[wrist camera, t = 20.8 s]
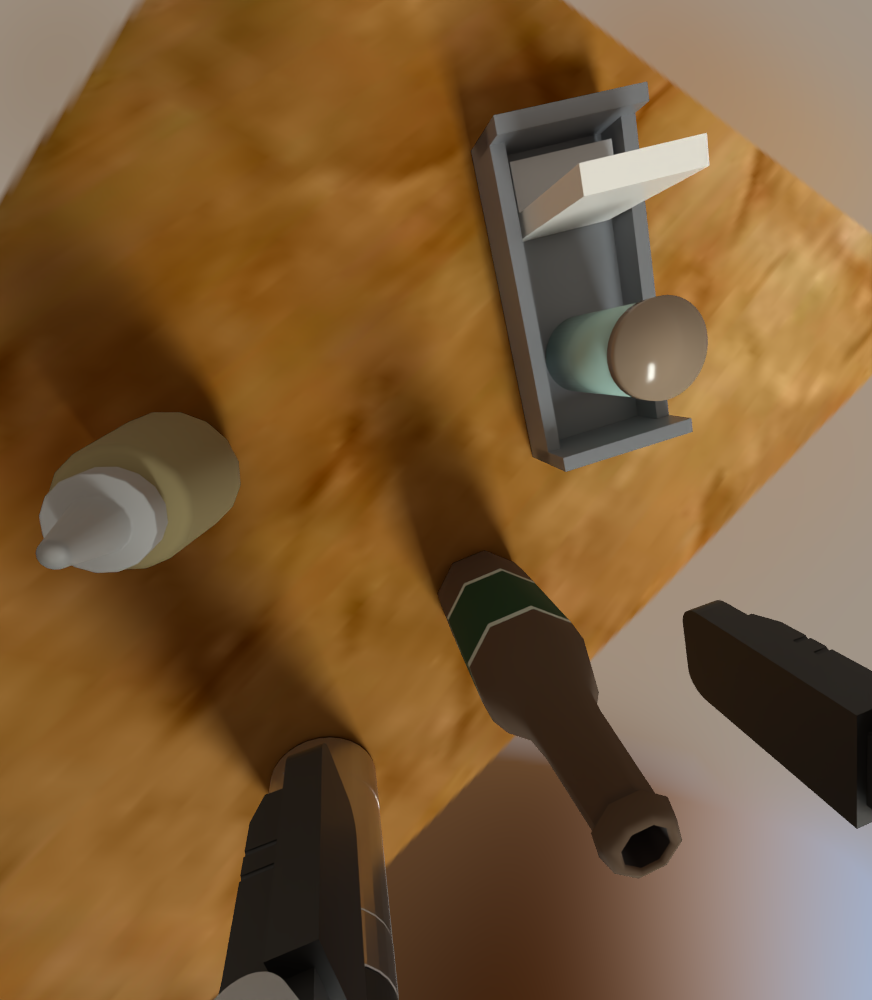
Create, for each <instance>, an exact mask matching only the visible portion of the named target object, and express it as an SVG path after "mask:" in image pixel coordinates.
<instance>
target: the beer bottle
mask: <svg viewBox="0 0 872 1000" xmlns="http://www.w3.org/2000/svg"><path fill="white" fill-rule="evenodd" d="M438 597H439V600H440V603H441V606H442V608H443V611H444V613H445V616H446V618H447V621H448V624H449V626H450V629H451V631H452V634H453V636H454V638H455V641H456V643H457V645H458V647H459V650H460V652H461V654H462V657H463V659H464V661H465V663H466V666H467V668H468V670H469V673H470V675H471V677H472V679H473V682H474V684H475V686H476V688H477V691H478V693H479V695H480V698H481V700H482V702H483V704H484V706H485V708H486V709H487V711H488V713H489V715H490V716H491V718H492V720H493V721H494V722H495V723H496V724H498V725H499V726H500V727H501V728H503V729H504V730H505V731H506V732H508V733H510V734H513V735H516V736H519V737H522V738H525V739H528V740H531V741H532V742H533V743H534V744H535V745H536V747H537V748H538V749H539V750H540V752H541V753H542V754H543V755H544V756H545V757H546V759H547V760H548V762H549V763H550V765H551V766H552V768H553V770H554V771H555V773H556V774H557V776H558V777H559V779H560V781H561V782H562V784H563V786H564V787H565V789H566V790H567V792H568V793H569V795H570V797H571V798H572V800H573V801H574V803H575V804H576V806H577V808H578V809H579V811H580V812H581V814H582V816H583V817H584V819H585V820H586V822H587V823H588V825H589V827H590V828H591V830H592V833H591V834H592V837H593V840H594V843H595V846H596V849H597V852H598V855H599V857H600V859H601V860H602V861H603V862H604V863H605V864H606V865H607V866H608V867H609V868H610V869H611V870H612V871H613V872H614V873H615V874H619V875H624V876H630V877H635V878H641V877H643V876H645V875H647V874H649V873H651V872H653V871H655V870H657V869H659V868H661V867H663V866H665V865H667V863H668V862H669V860H670V859H671V857H672V855H673V854H674V852H675V851H676V849H677V848H678V846H679V845H680V843H681V841H682V838H681V834H680V830H679V826H678V822H677V819H676V816H675V814H674V811H673V809H672V806H671V804H670V802H669V800H668V797H666V796H662V795H658V794H655V793H654V791H653V789H652V788H651V786H650V785H649V783H648V782H647V780H646V779H645V777H644V776H643V774H642V773H641V771H640V770H639V768H638V767H637V765H636V764H635V762H634V761H633V759H632V758H631V756H630V755H629V753H628V752H627V750H626V749H625V747H624V746H623V744H622V743H621V741H620V740H619V738H618V737H617V735H616V734H615V732H614V731H613V729H612V727H611V726H610V725H609V723H608V722H607V720H606V719H605V717H604V715H603V714H602V712H601V711H600V709H599V707H598V705H597V700H598V693H599V692H598V689H597V685H596V681H595V678H594V674H593V671H592V667H591V664H590V660H589V657H588V653H587V650H586V646H585V643H584V639H583V638H582V637H581V635H580V634H579V632H578V631H577V630H576V628H575V627H574V626H573V624H572V623H571V622H570V621H569V620H568V619H567V617H566V616H565V615H564V614H563V613H562V612H561V611H560V610H559V609H558V608H557V607H556V606H555V604H554V603H553V602H552V601H551V600H550V599H549V598H548V597H547V596H546V595H545V594H544V593H543V591H542V590H541V589H540V588H539V587H538V586H537V585H536V584H535V583H534V582H533V581H532V580H531V578H530V577H529V576H528V575H527V574H526V573H525V572H524V571H523V570H522V569H521V568H520V567H519V566H518V565H517V564H515V563H514V562H512V561H510V560H507V559H505V558H502V557H500V556H497V555H495V554H492V553H490V552H487V551H482V552H479V553H477V554H475V555H472V556H470V557H467V558H465V559H462V560H460V561H458V562H455V563H453V564H452V566H451V568H450V570H449V572H448V574H447V576H446V578H445V580H444V582H443V584H442V586H441V588H440V590H439V592H438Z"/></svg>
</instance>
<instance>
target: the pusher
mask: <svg viewBox="0 0 872 1000" xmlns="http://www.w3.org/2000/svg"><path fill="white" fill-rule="evenodd" d="M708 166H709V155H708V141H707V133H704V134H700V135H696V136H692V137H688V138H683V139H679V140H675V141H671V142H666V143H662V144H658V145H654V146H649V147H645V148H641V149H637V150H633V151H628V152H624V153H620V154H616V155H614V154H613V146H612V139H607V140H603V141H599V142H594V143H590V144H586V145H582V146H577V147H573V148H569V149H564V150H560V151H556V152H551V153H547V154H543V155H539V156H534V157H530V158H526V159H521V160H517V161H513V162H510V163H509V169H510V174H511V180H512V185H513V191H514V196H515V202H516V207H517V213H518V218H519V223H520V229H521V234H522V240H523V242H524V241H528V240H532V239H535V238H539V237H543V236H547V235H551V234H555V233H559V232H563V231H567V230H571V229H575V228H579V227H583V226H587V225H591V224H595V223H599V222H603V221H607V220H610V219H611V218H613V217H615V216H617V215H619V214H621V213H622V212H624V211H626V210H628V209H630V208H632V207H634V206H635V205H637V204H639V203H641V202H643V201H645V200H647V199H648V198H650V197H652V196H654V195H656V194H658V193H660V192H661V191H663V190H665V189H667V188H669V187H671V186H673V185H674V184H676V183H678V182H680V181H682V180H684V179H685V178H687V177H689V176H691V175H693V174H695V173H697V172H698V171H700V170H702V169H704V168H706V167H708Z"/></svg>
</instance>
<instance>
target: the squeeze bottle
mask: <svg viewBox="0 0 872 1000" xmlns="http://www.w3.org/2000/svg"><path fill="white" fill-rule="evenodd" d="M239 488H240V473H239V462H238V460H237V458H236V456H235V454H234V452H233V450H232V448H231V446H230V445H229V443H228V441H227V439H226V438H225V437H223V436H222V435H221V434H220V433H219V432H218V431H216V430H215V429H214V428H213V427H212V426H211V425H209V424H208V423H207V422H205V421H202V420H200V419H197V418H195V417H192V416H189V415H187V414H184V413H181V412H152V413H150V414H147V415H145V416H142V417H140V418H137V419H135V420H132V421H130V422H128V423H126V424H124V425H123V426H121V427H119V428H117V429H116V430H114V431H112V432H110V433H109V434H107V435H105V436H103V437H102V438H100V439H98V440H96V441H95V442H93V443H91V444H90V445H88V446H86V447H84V448H83V449H81V450H79V451H77V452H76V453H74V454H73V455H72V456H71V457H70V458H69V459H68V460H67V461H66V462H65V463H64V464H63V465H62V466H61V467H60V468H59V469H58V470H57V471H56V472H55V474H54V477H53V480H52V484H51V487H50V490H49V493H48V494H47V495H46V496H45V498H44V501H43V504H42V508H41V511H40V514H39V519H40V524H41V529H42V534H43V537H44V539H43V540H42V542H41V543H40V544H39V546H38V547H37V550H36V557H37V559H38V561H39V562H40V564H42V565H43V566H45V567H46V568H50V569H62V568H65V567H68V566H74V567H77V568H80V569H84V570H88V571H91V572H95V573H105V572H120V571H122V570H124V569H143V568H148V567H151V566H153V565H155V564H158V563H160V562H162V561H165V560H167V559H169V558H171V557H172V556H174V555H175V554H176V553H178V552H179V551H180V550H182V549H183V548H184V547H186V546H187V545H188V544H190V543H191V542H192V541H193V540H195V539H196V538H197V537H199V536H200V535H201V534H203V533H204V532H205V531H207V530H208V529H209V528H211V527H212V526H213V525H215V524H216V523H217V522H218V521H219V520H220V519H221V518H222V517H223V516H224V515H225V514H226V513H227V512H228V511H229V510H230V509H231V508H232V507H233V504H234V502H235V499H236V496H237V493H238V491H239Z"/></svg>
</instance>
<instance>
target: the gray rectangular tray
mask: <svg viewBox="0 0 872 1000" xmlns="http://www.w3.org/2000/svg"><path fill="white" fill-rule="evenodd" d="M648 101H649V94H648V85H647V82H643V83H639V84H634V85H630V86H625V87H620V88H616V89H611V90H607V91H602V92H598V93H593V94H589V95H584V96H579V97H575V98H570V99H566V100H561V101H557V102H552V103H548V104H543V105H539V106H534V107H529V108H525V109H520V110H516V111H511V112H507V113H502V114H498V115H493V117H492V119H491V120H490V122H489V123H488V125H487V127H486V128H485V130H484V131H483V133H482V134H481V136H480V138H479V139H478V141H477V142H476V144H475V146H474V147H473V149H472V150H471V153H472V158H473V163H474V168H475V173H476V178H477V183H478V188H479V193H480V198H481V203H482V208H483V213H484V218H485V222H486V227H487V232H488V237H489V242H490V247H491V252H492V257H493V262H494V267H495V272H496V277H497V282H498V287H499V292H500V297H501V302H502V307H503V311H504V316H505V321H506V326H507V331H508V336H509V341H510V346H511V351H512V356H513V361H514V366H515V371H516V376H517V381H518V386H519V391H520V395H521V400H522V405H523V410H524V415H525V420H526V425H527V430H528V435H529V440H530V445H531V450H532V455H533V457H534V458H536V459H539V460H541V461H543V462H545V463H548V464H550V465H552V466H554V467H556V468H559V469H561V470H563V471H565V472H566V471H569V470H573V469H576V468H579V467H582V466H585V465H589V464H592V463H595V462H598V461H601V460H604V459H608V458H611V457H614V456H617V455H620V454H623V453H627V452H630V451H633V450H636V449H639V448H642V447H646V446H649V445H652V444H655V443H658V442H662V441H665V440H668V439H671V438H674V437H677V436H681V435H684V434H687V433H690V432H693V431H692V420H691V418H686V417H679V416H672V415H669V412H668V403H667V400H663V401H649V400H640V399H635V398H633V397H626V396H616V395H606V394H595V393H585V392H575V391H569V390H566V389H564V388H562V387H561V386H559V385H558V384H557V383H556V382H555V381H554V380H553V378H552V377H551V375H550V373H549V371H548V368H547V364H546V348H547V344H548V341H549V338H550V336H551V335H552V333H553V331H554V330H555V329H556V328H557V326H558V325H560V324H561V323H562V322H563V321H565V320H566V319H568V318H571V317H573V316H578V315H582V314H587V313H592V312H596V311H601V310H606V309H610V308H615V307H620V306H624V305H629V304H634V303H637V302H639V301H642V300H645V299H648V298H653V297H656V296H655V287H654V278H653V269H652V260H651V251H650V242H649V233H648V224H647V215H646V206H645V201H643V202H641V203H639V204H637V205H635V206H634V207H632V208H630V209H628V210H626V211H624V212H622V213H621V214H619V215H617V216H615V217H613V218H611V219H610V220H607V221H603V222H599V223H595V224H591V225H587V226H583V227H579V228H575V229H571V230H567V231H563V232H559V233H555V234H551V235H547V236H543V237H539V238H535V239H532V240H528V241H524V242H523V240H522V234H521V229H520V223H519V218H518V213H517V207H516V202H515V196H514V191H513V185H512V180H511V174H510V169H509V163H510V162H513V161H517V160H521V159H526V158H530V157H534V156H539V155H543V154H547V153H551V152H556V151H560V150H564V149H569V148H573V147H577V146H582V145H586V144H590V143H594V142H599V141H603V140H607V139H612V146H613V154H614V155H616V154H620V153H624V152H628V151H633V150H637V149H639V144H638V135H637V126H636V117H635V112H637V111H638V110H639V109H640V108H641V107H642V106H644V105H645V104H646V103H647V102H648Z"/></svg>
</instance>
